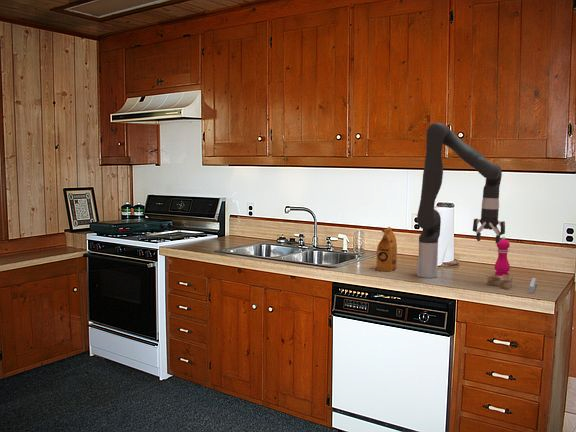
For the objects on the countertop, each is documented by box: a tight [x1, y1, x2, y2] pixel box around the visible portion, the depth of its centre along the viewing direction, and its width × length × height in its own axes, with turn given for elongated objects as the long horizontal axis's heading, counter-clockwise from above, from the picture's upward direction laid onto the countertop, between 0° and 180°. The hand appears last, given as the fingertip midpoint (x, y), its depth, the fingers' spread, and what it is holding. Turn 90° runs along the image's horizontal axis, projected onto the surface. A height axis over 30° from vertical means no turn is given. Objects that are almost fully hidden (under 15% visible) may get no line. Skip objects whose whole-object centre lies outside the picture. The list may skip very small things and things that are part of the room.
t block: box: [486, 274, 513, 290], centre depth 258 cm, size 10×12×4 cm
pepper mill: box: [494, 236, 511, 276], centre depth 275 cm, size 7×7×20 cm
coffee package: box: [375, 226, 398, 273], centre depth 292 cm, size 10×12×22 cm
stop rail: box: [528, 277, 537, 294], centre depth 252 cm, size 2×18×3 cm, turn 153°
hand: (487, 242), depth 260 cm, fingers open, 8 cm apart
